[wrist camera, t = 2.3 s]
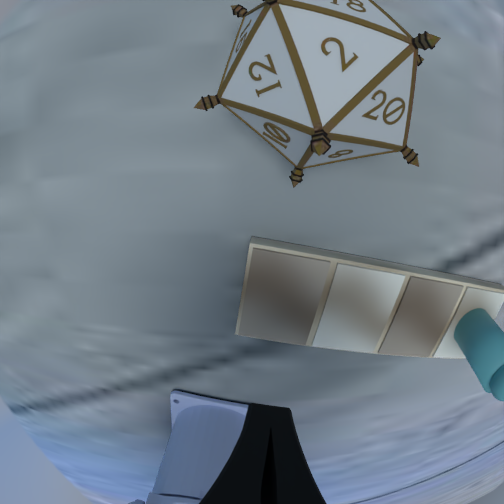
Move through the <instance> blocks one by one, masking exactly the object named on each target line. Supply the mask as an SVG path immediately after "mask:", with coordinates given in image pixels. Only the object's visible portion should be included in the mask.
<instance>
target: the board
mask: <svg viewBox="0 0 504 504" xmlns="http://www.w3.org/2000/svg"><path fill="white" fill-rule="evenodd" d="M503 302H504V287H503V286H502V285H501V284H497V283H493V282H488V281H483V280H478V279H473V278H469V277H464V276H459V275H454V274H449V273H444V272H439V271H434V270H429V269H424V268H419V267H414V266H409V265H404V264H399V263H393V262H388V261H383V260H378V259H373V258H367V257H362V256H357V255H352V254H346V253H341V252H336V251H330V250H325V249H320V248H314V247H309V246H303V245H298V244H292V243H287V242H281V241H276V240H270V239H264V238H259V237H253V236H252V237H251V241H250V245H249V252H248V258H247V264H246V270H245V276H244V282H243V288H242V294H241V300H240V306H239V312H238V318H237V325H236V331H235V335H240V336H246V337H252V338H258V339H264V340H270V341H276V342H283V343H289V344H296V345H303V346H310V347H318V348H326V349H334V350H343V351H352V352H362V353H372V354H384V355H396V356H411V357H428V358H452V359H466V357H465V355H464V354H463V352H462V350H461V349H460V347H459V346H458V344H457V342H456V341H455V339H454V331H455V328H456V325H457V324H458V322H459V321H460V319H461V318H462V317H463V316H464V315H465V314H466V313H468V312H469V311H471V310H473V309H477V308H482V309H484V310H486V312H487V313H488V314H489V315H490V316H491V318H492V319H493V320H495V318H496V316H497V314H498V312H499V310H500V308H501V306H502V304H503Z"/></svg>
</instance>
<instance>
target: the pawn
mask: <svg viewBox="0 0 504 504" xmlns="http://www.w3.org/2000/svg"><path fill="white" fill-rule="evenodd" d="M454 339H455V341H456V342H457V344H458V346H459V347H460V349H461V350H462V352H463V354H464V355H465V357H466V359H467V360H468V362H469V364H470V365H471V367H472V369H473V371H474V372H475V374H476V376H477V378H478V379H479V381H480V383H481V385H482V386H483V388H484V390H485V391H486V392H488V393H492V394H493V396H494V397H495V398H496V399H498V400H500V401H504V332H503V331H502V330H501V329H500V327H499V326H498V325H497V324H496V322H495V321H494V320H493V319H492V318H491V316H490V315H489V314H488V313H487V312H486V310H484V309H482V308H477V309H473V310H471V311H469V312H468V313H466V314H465V315H464V316H463V317H462V318H461V319H460V321H459V322H458V324H457V325H456V328H455V331H454Z"/></svg>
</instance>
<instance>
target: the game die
mask: <svg viewBox="0 0 504 504" xmlns="http://www.w3.org/2000/svg"><path fill="white" fill-rule="evenodd" d="M263 1H265V2H263V3H262V4H260V5H258V6H257V7H255V8H254V9H252V10H250V11H249V12H247V9H246V8H244V7H243V6H241V5H239V4H238V5H234V6H231V7H232V10H233V15H237V17H243V20H242V22H241V25H240V28H239V31H238V33H237V36H236V39H235V42H234V45H233V48H232V50H231V53H230V56H229V59H228V62H227V65H226V68H225V71H224V74H223V77H222V81H221V84H220V87H219V90H218V93H217V95H215V96H209V95H208V96H207V97H204V98H203V96H202V97H201V100H200V101H199V102H198V103H197V104H196V106H195V107H194V108H197V109H203V110H206V111H208V110H207V109H209V108H212V109H213V108H214V106H216V105H217V104H222V105H223V106H224V107H225V108H227V109H228V110H229V111H230V112H232V113H233V114H234V115H235V116H237V117H238V118H239V119H240V120H242V121H243V122H244V123H245V124H246V125H248V126H249V127H250V128H251V129H252V130H254V131H255V132H256V133H257V134H258V135H260V136H261V137H262V138H263V139H264V140H265V141H267V142H268V143H269V144H270V145H271V146H272V147H274V148H275V149H276V150H277V151H278V152H279V153H280V154H282V155H283V156H284V157H285V158H286V159H287V160H288V161H289V162H291V163H292V164H293V165H294V166H295V168H294V170H293V171H291V173H292V174H291V176H289V178H290V179H291V181H292V184H293V187H295V186H296V185H297V184H298V183H300V182H301V181H303V179H302V176H304V174H303V169H305V168H310V167H315V166H320V165H325V164H330V163H335V162H340V161H345V160H351V159H356V158H362V157H368V156H374V155H380V154H386V153H392V152H399V151H400V152H402V154H403V158H404V159H406V160H407V163H408V164H409V163H410V164H413V165H415V166H418V167H419V163H418V157H417V155H418V154H416V153H415V152H414V151H413V149H410V148H408V147H407V145H406V144H407V138H408V132H409V126H410V120H411V113H412V105H413V98H414V90H415V81H416V71H417V66H419V65H420V64H421V63H422V61H423V60H424V59H423V58H422V57H420V55H418V48H421V49H424V50H426V49H427V48H430V49H433V48H434V47H435V44H436V43H437V42H438V41H439V40H440V39H441V38H440V37H437V36H434V35H431V34H429V33H427V32H426V31H425V32H424V34H420V33H419V34H418V36H417V37H416V38H413V37H412V36H411V35H410V34H409V33H408V32H407V31H406V30H405V29H404V28H403V27H401V26H400V25H399V24H398V23H397V22H396V21H395V20H394V19H393V18H392V17H391V16H390V15H389V14H387V13H386V12H385V11H384V10H383V9H382V8H381V7H379V6H378V5H377V4H376V3H375V2H374V1H372V0H263Z"/></svg>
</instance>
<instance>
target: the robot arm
mask: <svg viewBox="0 0 504 504" xmlns="http://www.w3.org/2000/svg"><path fill="white" fill-rule="evenodd" d="M170 401H171V422H172V432H171V435H170V438H169V441H168V444H167V447H166V450H165V453H164V457H163V460H162V463H161V466H160V469H159V472H158V475H157V478H156V482H155V485H154V488H153V491H152V493H151V492H150V493H149V495H148V498H147V501H146V504H326V502H325V500H324V498H323V497H322V495H321V493H320V491H319V489H318V487H317V485H316V483H315V480H314V478H313V476H312V474H311V471H310V469H309V467H308V464H307V462H306V459H305V456H304V454H303V451H302V448H301V445H300V442H299V439H298V436H297V433H296V429H295V426H294V422H293V418H292V413H291V410H290V409H289V408H285V407H277V406H269V405H262V404H256V403H251V404H249V405H246V404H240V403H234V402H228V401H223V400H217V399H212V398H207V397H203V396H198V395H193V394H189V393H185V392H180V391H172V392H171V395H170ZM128 504H145V501H142V500H139V499H137V500H135V502H131V503H128Z"/></svg>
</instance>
